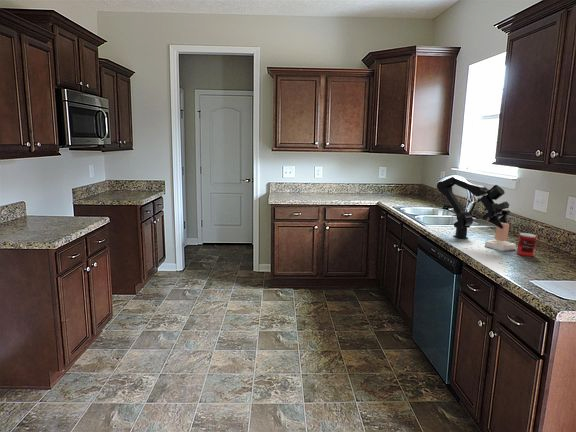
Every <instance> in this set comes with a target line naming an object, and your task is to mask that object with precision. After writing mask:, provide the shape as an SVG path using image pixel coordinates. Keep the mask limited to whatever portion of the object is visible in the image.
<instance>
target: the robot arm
mask: <svg viewBox="0 0 576 432" xmlns="http://www.w3.org/2000/svg"><path fill="white" fill-rule="evenodd" d="M455 185H456V186H458V187H460V188H463V189H464V190H467V191H469V193H470V194H472V195H473V196H475V197H479V198H477V201H476V203H477V204H482V206H483V207H484V209H483V210H484V211H486V212H485V214H483V215H482V217H481V219H482V220H483V221H484V222H486V221H488V222H489V223H491V224H492V225H495V226H498V227H499V228H501V229H502V228H503V226H502V224H501V222H503V223H508V221H507V220H508V219H507V217H508V216H509V215H511V214H512V213H511V211H510V210H508V209H509V207H510V203H509V202H508V201H502V202H501V203H500V202H499V203H497V202H496V203H495V202H494V201H497V200H499V198H501V197H502V196H503V195H505V193H506V192H505V190H504V189H503V188H502V187H501V186H499V185H498V184H494V185H493V186H492V187H491V188H490V189H489V188H487V187H486V186H483V185H480V184H474V183H472V182H469V181H466V180H464V179H462V178H459V177H458V176H451V177H450V178H448V179H444V180H442V181H438V182H437V184H436V189H437V190H438V191H439V193H441V194H442V195H444V197H445V198H446V200H447V201H448V203H449V205H450V206H451V208H452V209H453V211H454V213H455V214H456V215H455V216H456V221H455V222H454V223H453V227H454V228H455V233H454V235H452V237H453V238H457V239H469V237H467V235H468V228H469V229H470V227H471V226H472V224H473V223H474V222H473V221H474V219H473V218H474V217H473V216H472V214H471V212H470V211H465V210H464V208H463V206H462V204H461V203H460V202H459V201H458V198H457V197H456V195H455V194H454V192H453V187H454V186H455Z"/></svg>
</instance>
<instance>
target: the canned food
mask: <svg viewBox="0 0 576 432" xmlns="http://www.w3.org/2000/svg"><path fill="white" fill-rule="evenodd" d="M536 242H537V235H536V234H533V233H528V232H520V233H519V237H518V243H517V249H516V250H517V251H516V253H517V255H518V256H522V257H530V258H532V257H533V256H534V253H535V249H536Z"/></svg>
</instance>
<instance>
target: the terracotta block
mask: <svg viewBox="0 0 576 432" xmlns="http://www.w3.org/2000/svg"><path fill="white" fill-rule="evenodd" d="M501 224H502V226H503V228H502V229H501V228H499V227H498V226H496V225H495V226H496V227H495V233H494V240H499V241H505V242H508V236H509V230H510V223H508V222H507V223H503V222H501Z"/></svg>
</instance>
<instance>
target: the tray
mask: <svg viewBox="0 0 576 432" xmlns="http://www.w3.org/2000/svg"><path fill="white" fill-rule="evenodd" d="M516 246H517V245H516V243H512V242H509V241H499V240H495V239H491V240H490V239H489V240H486V241H485V243H484V247H486V248H489V249H493V250H497V251H500V252H501V251H502V252H507V251H513V250H516Z"/></svg>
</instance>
